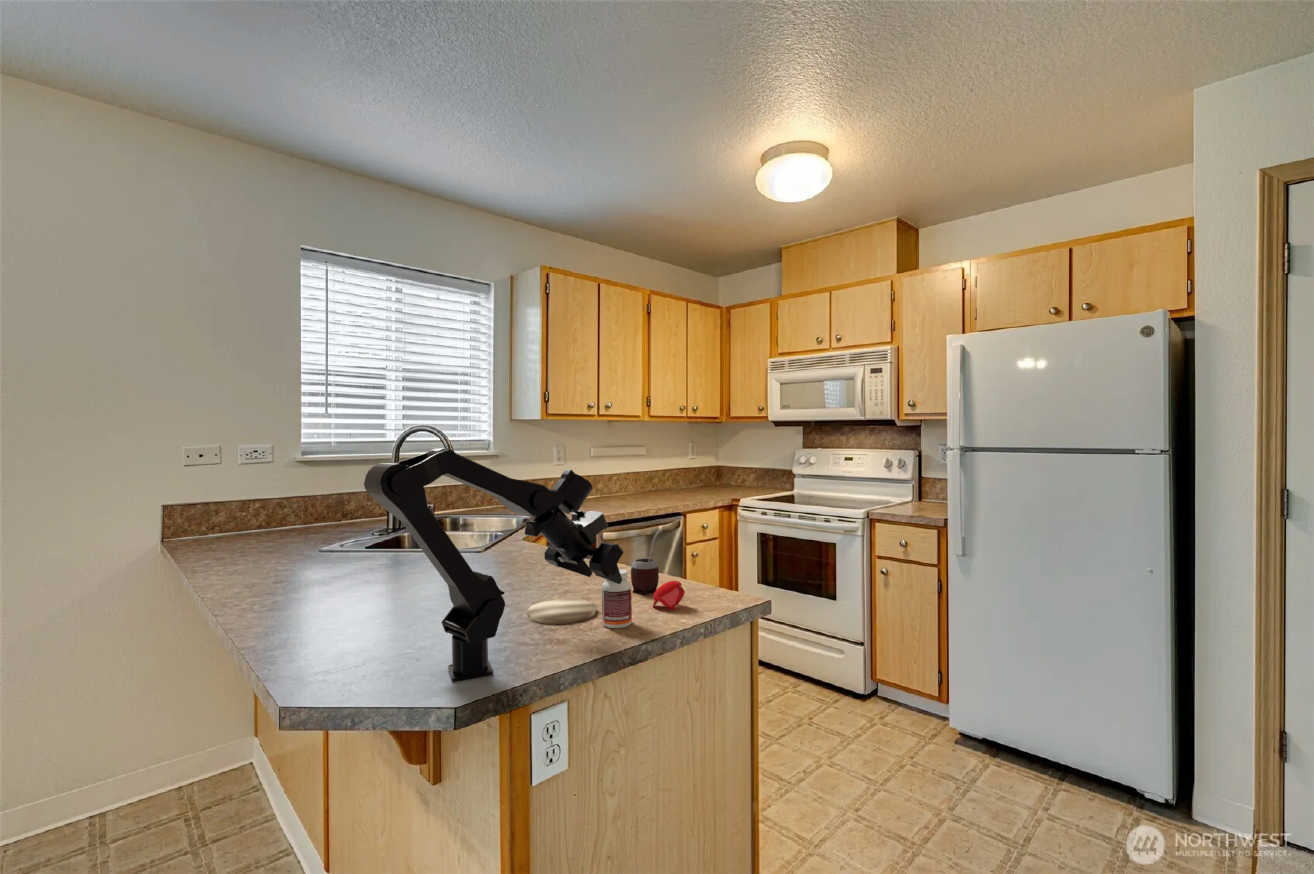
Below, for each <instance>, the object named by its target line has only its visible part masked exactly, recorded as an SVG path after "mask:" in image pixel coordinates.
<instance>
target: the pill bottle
mask: <svg viewBox="0 0 1314 874" xmlns="http://www.w3.org/2000/svg"><path fill="white" fill-rule="evenodd" d="M618 569H619V571H620V574H621V577H622V582H621V583H620V584H617V583H614V582H612V581H609V580H606V579H605V580H606V581H604V582H603V583H602V584H601V611H602V612H601V615H602V617H601V620H602V621H601V623H602V626H604V627H606V628H608V629H623V628H626V627H629V626H631V624H632V623H633V617H632V616H633V612H632V611H633V608H632V605H633V604H632V601H633V598H632V582H630V581H629V580H627V579H628V570H627V569H621V568H618Z"/></svg>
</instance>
